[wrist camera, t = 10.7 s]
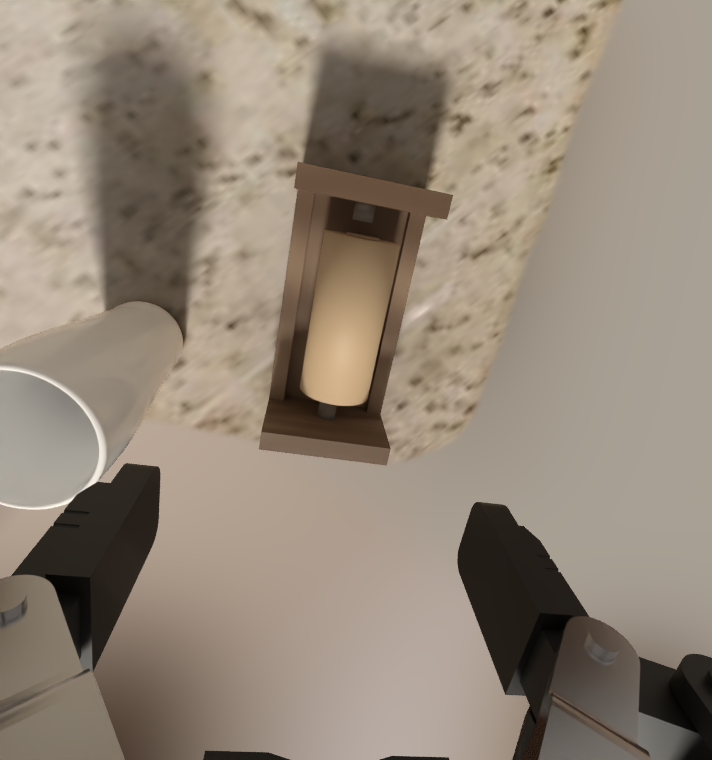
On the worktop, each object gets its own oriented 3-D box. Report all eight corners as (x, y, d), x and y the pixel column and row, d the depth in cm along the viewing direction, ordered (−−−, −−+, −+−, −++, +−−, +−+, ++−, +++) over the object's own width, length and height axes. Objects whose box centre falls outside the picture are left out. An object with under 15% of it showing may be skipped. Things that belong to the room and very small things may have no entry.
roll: (321, 225, 29) (329, 231, 25) (391, 238, 30) (409, 246, 26) (297, 376, 33) (301, 403, 29) (361, 383, 34) (373, 411, 30)
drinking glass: (73, 333, 32) (-116, 438, 18) (140, 267, 31) (-7, 324, 17) (151, 400, 34) (37, 540, 20) (216, 341, 33) (143, 446, 19)
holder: (301, 169, 29) (297, 161, 23) (423, 195, 30) (452, 194, 24) (269, 402, 35) (259, 449, 28) (373, 417, 36) (386, 465, 29)
